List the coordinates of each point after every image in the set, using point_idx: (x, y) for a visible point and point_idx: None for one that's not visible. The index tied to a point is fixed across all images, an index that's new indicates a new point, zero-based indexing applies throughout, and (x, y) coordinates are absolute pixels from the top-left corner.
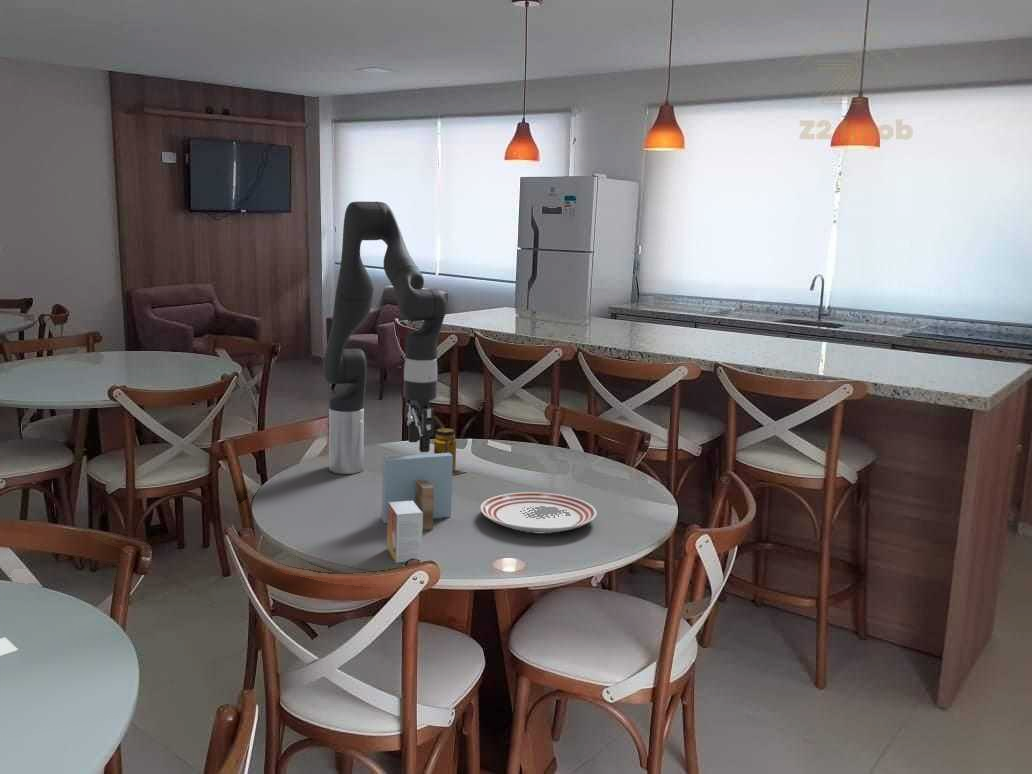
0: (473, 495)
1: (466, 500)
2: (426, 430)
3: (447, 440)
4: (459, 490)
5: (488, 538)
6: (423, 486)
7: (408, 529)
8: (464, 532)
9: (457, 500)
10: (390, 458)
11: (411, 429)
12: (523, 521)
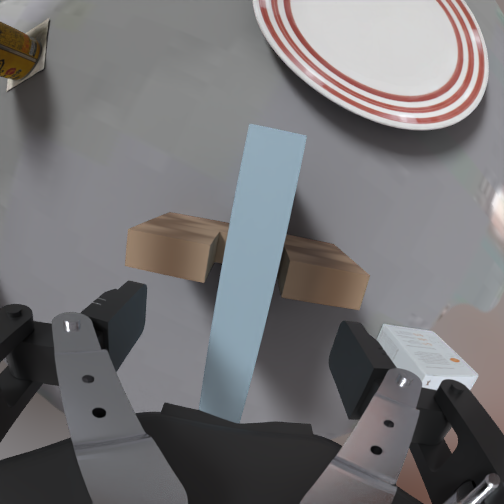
0: (168, 41)
1: (190, 68)
2: (442, 437)
3: None
4: (122, 58)
5: (427, 167)
6: (345, 301)
7: None
8: (380, 189)
9: (179, 87)
10: (222, 405)
11: (116, 358)
12: (396, 54)
